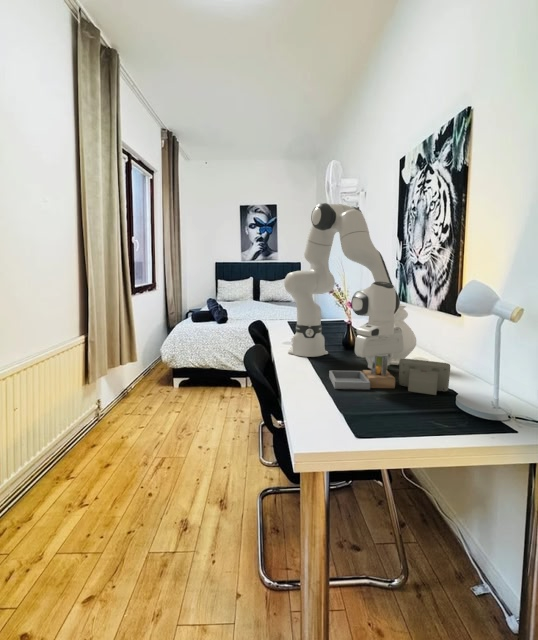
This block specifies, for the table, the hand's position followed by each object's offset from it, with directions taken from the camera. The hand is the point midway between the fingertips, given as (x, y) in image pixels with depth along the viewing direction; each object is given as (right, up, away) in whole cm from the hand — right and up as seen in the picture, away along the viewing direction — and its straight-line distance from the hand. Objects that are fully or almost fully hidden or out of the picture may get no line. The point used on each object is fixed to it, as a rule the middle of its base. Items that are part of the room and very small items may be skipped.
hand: (378, 366), depth 136 cm
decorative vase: (+16, -2, +33) cm, 37 cm away
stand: (0, -6, +1) cm, 6 cm away
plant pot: (+6, -4, +20) cm, 21 cm away
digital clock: (+14, -8, -5) cm, 16 cm away
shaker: (0, -3, 0) cm, 3 cm away
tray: (-11, -6, +1) cm, 12 cm away
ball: (0, -1, 0) cm, 1 cm away
